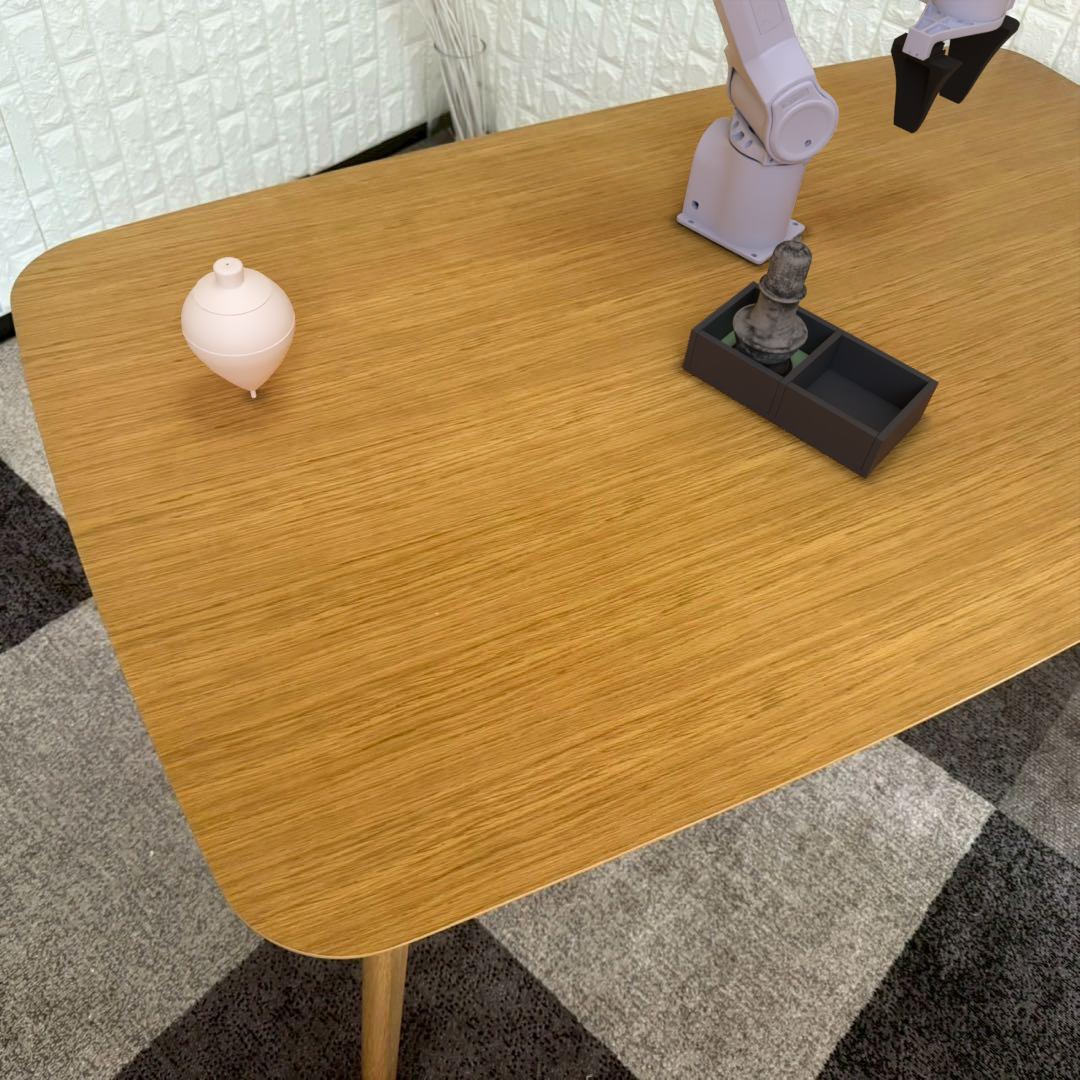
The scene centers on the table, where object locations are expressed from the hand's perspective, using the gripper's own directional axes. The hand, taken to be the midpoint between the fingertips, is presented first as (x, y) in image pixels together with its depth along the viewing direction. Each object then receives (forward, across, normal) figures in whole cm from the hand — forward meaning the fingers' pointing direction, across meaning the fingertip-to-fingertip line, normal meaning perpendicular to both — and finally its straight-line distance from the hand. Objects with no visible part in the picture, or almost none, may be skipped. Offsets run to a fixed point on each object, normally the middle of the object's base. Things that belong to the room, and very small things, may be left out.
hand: (928, 113), depth 90 cm
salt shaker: (+10, +28, +5) cm, 30 cm away
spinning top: (+9, +60, -18) cm, 63 cm away
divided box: (+10, +28, +9) cm, 31 cm away
